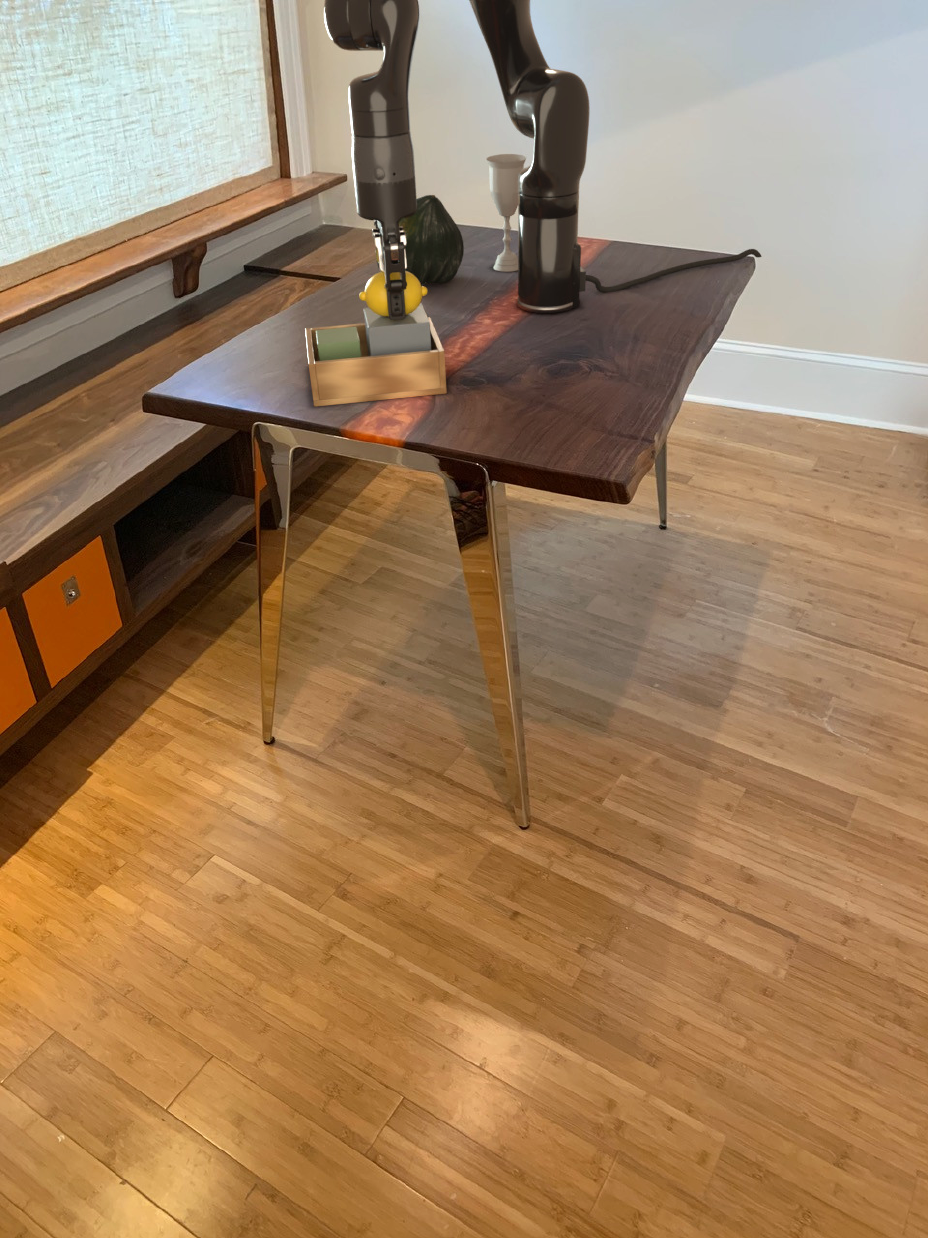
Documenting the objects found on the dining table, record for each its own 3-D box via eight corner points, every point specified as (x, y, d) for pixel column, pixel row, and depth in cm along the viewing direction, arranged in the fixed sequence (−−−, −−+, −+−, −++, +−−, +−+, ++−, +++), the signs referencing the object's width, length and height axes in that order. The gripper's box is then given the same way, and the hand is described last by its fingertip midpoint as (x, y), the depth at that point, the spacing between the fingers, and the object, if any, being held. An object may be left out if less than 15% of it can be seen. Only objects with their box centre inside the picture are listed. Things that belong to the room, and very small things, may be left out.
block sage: (360, 368, 132) (356, 326, 129) (363, 383, 128) (359, 340, 124) (321, 372, 132) (315, 330, 128) (323, 387, 127) (317, 344, 124)
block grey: (425, 359, 134) (421, 302, 130) (433, 380, 128) (429, 321, 123) (368, 364, 133) (363, 307, 129) (374, 386, 127) (368, 327, 122)
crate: (432, 356, 137) (430, 316, 134) (446, 393, 126) (444, 351, 123) (310, 368, 135) (305, 328, 132) (314, 406, 124) (308, 364, 121)
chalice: (526, 272, 168) (527, 161, 157) (488, 273, 168) (486, 163, 158) (525, 260, 174) (525, 153, 163) (488, 261, 174) (486, 154, 163)
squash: (352, 246, 166) (380, 185, 153) (422, 233, 173) (455, 174, 160) (389, 315, 164) (420, 260, 151) (458, 299, 172) (493, 245, 159)
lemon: (425, 305, 129) (423, 262, 125) (431, 318, 124) (429, 275, 121) (359, 310, 128) (355, 268, 124) (363, 324, 123) (358, 281, 120)
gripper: (422, 183, 110) (430, 326, 120) (407, 159, 122) (416, 292, 132) (357, 188, 110) (371, 332, 120) (349, 163, 121) (362, 296, 131)
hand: (394, 310), depth 126 cm, fingers closed on lemon, 5 cm apart
